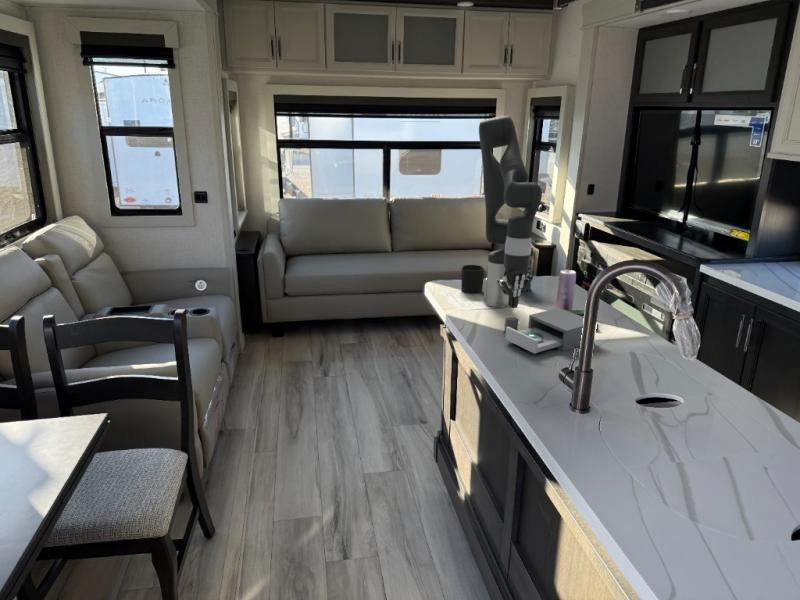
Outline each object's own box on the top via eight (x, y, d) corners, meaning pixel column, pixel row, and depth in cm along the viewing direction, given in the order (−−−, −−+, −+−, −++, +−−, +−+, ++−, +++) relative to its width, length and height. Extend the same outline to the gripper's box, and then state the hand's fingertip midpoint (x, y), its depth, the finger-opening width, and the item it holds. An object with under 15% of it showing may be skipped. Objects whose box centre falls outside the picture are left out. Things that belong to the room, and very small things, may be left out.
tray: (505, 339, 182) (506, 327, 180) (534, 331, 188) (535, 319, 187) (534, 353, 171) (535, 340, 170) (564, 344, 178) (565, 332, 177)
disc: (520, 338, 180) (520, 334, 180) (533, 335, 183) (534, 330, 183) (533, 345, 175) (534, 340, 175) (547, 341, 178) (547, 336, 178)
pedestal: (501, 331, 191) (502, 318, 189) (511, 329, 193) (512, 315, 192) (510, 336, 188) (511, 322, 186) (520, 333, 190) (521, 319, 188)
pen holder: (487, 290, 234) (489, 267, 231) (474, 295, 228) (475, 272, 224) (469, 286, 240) (470, 263, 237) (455, 290, 234) (457, 267, 230)
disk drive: (598, 332, 193) (588, 317, 207) (599, 325, 192) (589, 310, 206) (567, 331, 194) (560, 315, 208) (568, 323, 193) (561, 308, 207)
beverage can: (573, 308, 214) (578, 271, 209) (569, 313, 209) (573, 274, 204) (558, 305, 217) (562, 268, 212) (553, 310, 212) (557, 272, 207)
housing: (527, 334, 189) (529, 315, 187) (556, 326, 196) (558, 307, 194) (563, 351, 176) (566, 330, 174) (593, 342, 184) (596, 322, 181)
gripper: (510, 257, 157) (505, 315, 163) (543, 251, 164) (537, 307, 170) (492, 251, 163) (488, 307, 169) (524, 246, 170) (519, 300, 175)
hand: (513, 307), depth 169 cm, fingers closed
